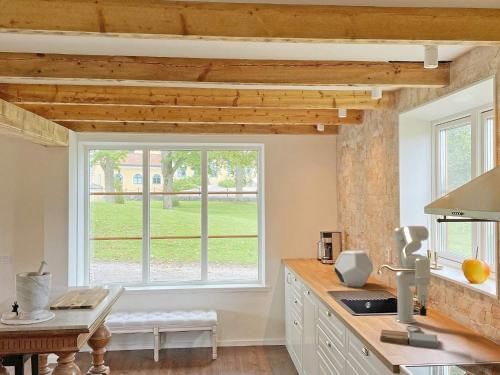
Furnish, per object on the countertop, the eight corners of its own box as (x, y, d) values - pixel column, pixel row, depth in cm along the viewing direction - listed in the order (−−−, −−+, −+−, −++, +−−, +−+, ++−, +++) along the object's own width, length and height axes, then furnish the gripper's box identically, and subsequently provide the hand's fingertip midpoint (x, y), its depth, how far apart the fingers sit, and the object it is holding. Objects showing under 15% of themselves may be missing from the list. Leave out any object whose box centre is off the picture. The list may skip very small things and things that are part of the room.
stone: (403, 329, 267) (403, 324, 267) (418, 330, 267) (418, 324, 267) (411, 335, 255) (411, 329, 255) (427, 336, 255) (427, 330, 255)
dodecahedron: (380, 287, 389) (380, 252, 390) (341, 289, 383) (341, 254, 383) (363, 280, 422) (363, 248, 423) (327, 282, 416) (327, 249, 416)
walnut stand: (381, 335, 258) (381, 329, 258) (407, 337, 254) (407, 332, 254) (380, 342, 245) (380, 336, 245) (407, 345, 240) (407, 339, 240)
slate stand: (409, 337, 253) (409, 331, 253) (436, 340, 248) (436, 334, 248) (409, 345, 240) (409, 339, 240) (438, 348, 235) (438, 342, 235)
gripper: (415, 278, 253) (415, 311, 253) (415, 283, 239) (415, 318, 238) (429, 279, 251) (430, 312, 250) (430, 283, 236) (431, 319, 236)
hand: (423, 315), depth 244 cm, fingers closed
